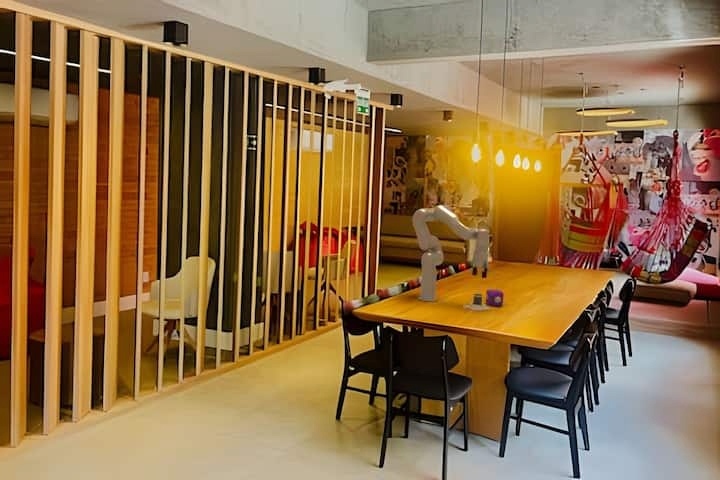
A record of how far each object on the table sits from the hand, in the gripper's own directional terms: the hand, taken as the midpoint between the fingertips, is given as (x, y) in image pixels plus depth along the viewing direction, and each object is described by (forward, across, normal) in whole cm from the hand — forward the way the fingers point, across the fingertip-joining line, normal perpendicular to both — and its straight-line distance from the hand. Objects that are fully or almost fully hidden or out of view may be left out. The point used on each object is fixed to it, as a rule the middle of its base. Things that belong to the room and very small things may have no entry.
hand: (479, 276), depth 388 cm
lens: (+19, 0, 0) cm, 19 cm away
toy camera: (+20, -7, +19) cm, 29 cm away
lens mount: (+20, 0, 0) cm, 20 cm away
